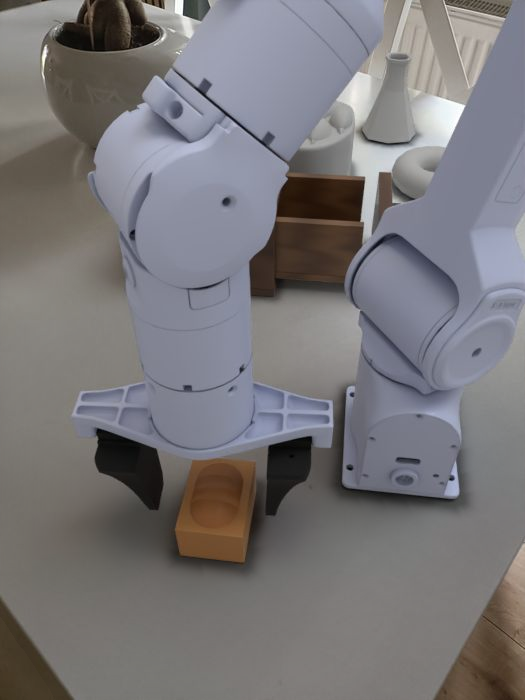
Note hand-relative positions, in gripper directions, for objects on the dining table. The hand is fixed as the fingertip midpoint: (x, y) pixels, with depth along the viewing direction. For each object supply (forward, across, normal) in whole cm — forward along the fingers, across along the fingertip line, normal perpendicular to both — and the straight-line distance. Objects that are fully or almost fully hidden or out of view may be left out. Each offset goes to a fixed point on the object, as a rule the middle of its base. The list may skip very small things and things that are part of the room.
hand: (213, 499), depth 41 cm
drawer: (+1, -9, -29) cm, 30 cm away
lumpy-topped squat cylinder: (+2, -6, -46) cm, 47 cm away
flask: (+2, -17, -59) cm, 62 cm away
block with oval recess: (+2, 0, +1) cm, 2 cm away
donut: (+2, -21, -45) cm, 50 cm away
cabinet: (+2, +3, -30) cm, 30 cm away
